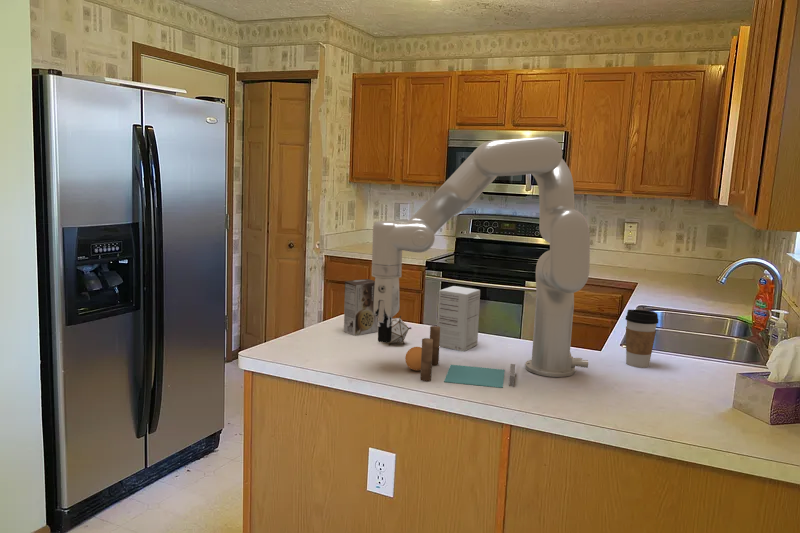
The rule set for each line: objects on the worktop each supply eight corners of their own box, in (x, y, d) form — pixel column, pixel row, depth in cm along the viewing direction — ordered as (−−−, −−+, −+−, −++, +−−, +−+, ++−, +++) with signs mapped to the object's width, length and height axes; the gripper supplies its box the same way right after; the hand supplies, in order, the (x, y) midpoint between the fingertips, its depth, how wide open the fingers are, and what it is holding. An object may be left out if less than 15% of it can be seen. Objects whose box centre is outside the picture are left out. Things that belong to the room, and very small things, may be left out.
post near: (431, 378, 149) (433, 338, 148) (430, 381, 147) (432, 341, 145) (421, 377, 150) (423, 337, 148) (419, 380, 147) (421, 340, 146)
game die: (399, 357, 179) (410, 335, 173) (372, 346, 179) (383, 324, 172) (406, 336, 186) (417, 314, 180) (380, 325, 186) (390, 303, 179)
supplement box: (450, 339, 187) (453, 285, 184) (478, 344, 182) (481, 289, 179) (435, 346, 178) (438, 289, 176) (464, 351, 174) (467, 293, 171)
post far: (439, 363, 162) (440, 326, 161) (437, 366, 160) (439, 328, 158) (429, 362, 163) (431, 325, 161) (427, 365, 160) (429, 327, 159)
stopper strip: (514, 373, 155) (515, 364, 155) (514, 386, 146) (514, 376, 145) (509, 373, 156) (510, 363, 155) (508, 385, 146) (509, 375, 146)
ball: (407, 343, 158) (406, 365, 159) (404, 349, 152) (403, 372, 153) (430, 345, 157) (429, 367, 158) (428, 351, 151) (426, 374, 152)
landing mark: (504, 370, 158) (504, 369, 158) (502, 388, 144) (502, 387, 144) (450, 365, 161) (450, 364, 161) (443, 382, 147) (443, 381, 147)
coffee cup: (614, 361, 169) (619, 308, 167) (636, 358, 173) (641, 306, 171) (638, 370, 162) (644, 315, 160) (660, 367, 166) (666, 313, 164)
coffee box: (366, 327, 197) (367, 278, 195) (378, 332, 192) (380, 281, 190) (342, 331, 191) (344, 280, 189) (354, 336, 187) (356, 284, 184)
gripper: (395, 275, 145) (392, 350, 148) (406, 267, 160) (404, 335, 163) (364, 273, 147) (362, 347, 149) (379, 265, 161) (377, 333, 164)
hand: (384, 341), depth 156 cm, fingers closed
